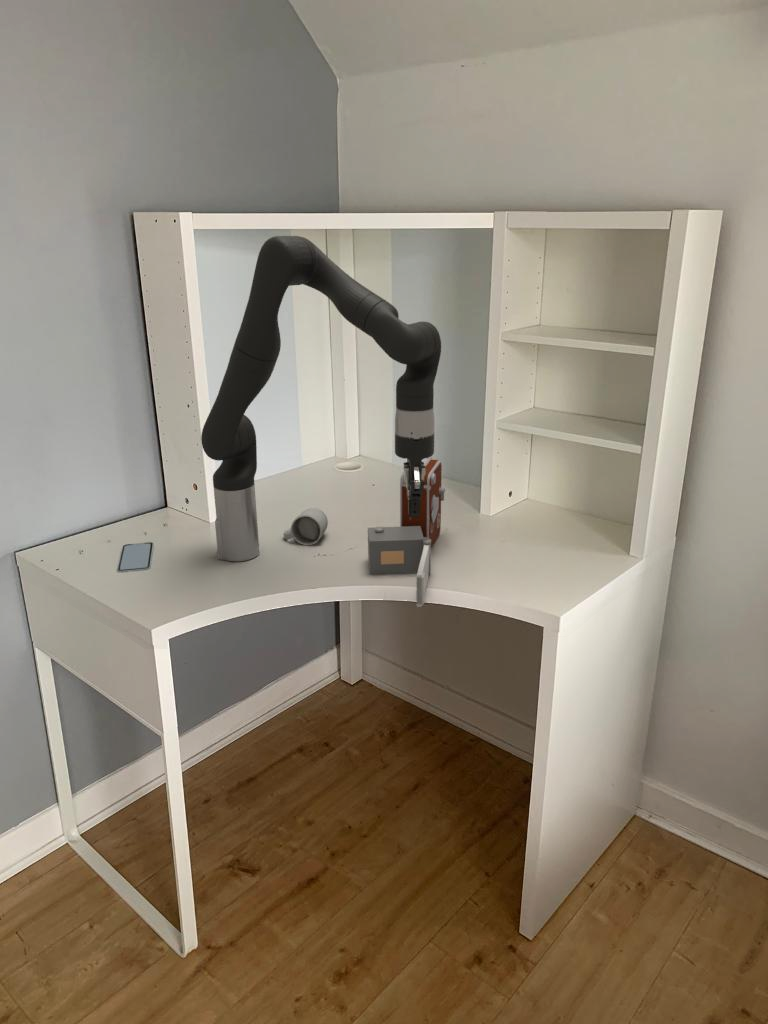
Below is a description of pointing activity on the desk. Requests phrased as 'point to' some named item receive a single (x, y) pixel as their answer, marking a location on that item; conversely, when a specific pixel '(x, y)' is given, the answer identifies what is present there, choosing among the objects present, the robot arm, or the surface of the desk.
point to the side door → (423, 574)
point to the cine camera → (425, 501)
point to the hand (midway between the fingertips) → (414, 515)
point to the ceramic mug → (308, 527)
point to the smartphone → (136, 557)
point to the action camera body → (395, 549)
